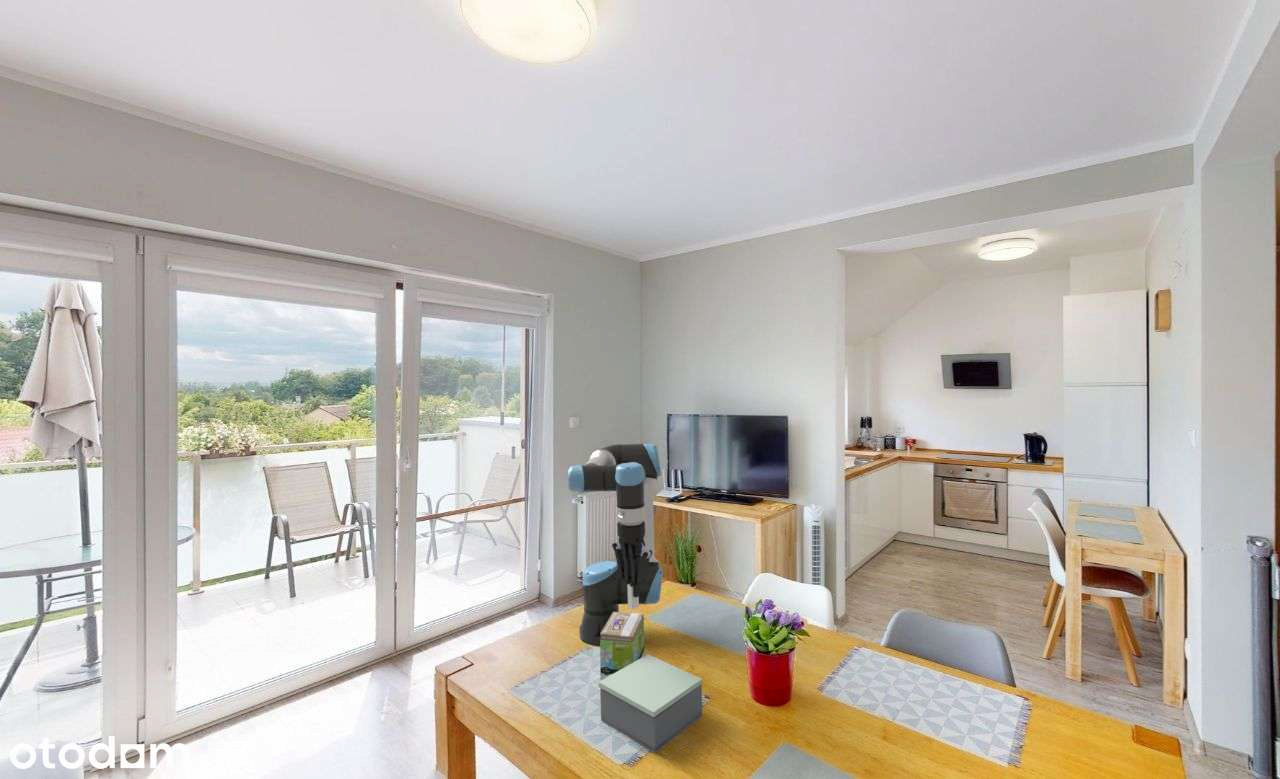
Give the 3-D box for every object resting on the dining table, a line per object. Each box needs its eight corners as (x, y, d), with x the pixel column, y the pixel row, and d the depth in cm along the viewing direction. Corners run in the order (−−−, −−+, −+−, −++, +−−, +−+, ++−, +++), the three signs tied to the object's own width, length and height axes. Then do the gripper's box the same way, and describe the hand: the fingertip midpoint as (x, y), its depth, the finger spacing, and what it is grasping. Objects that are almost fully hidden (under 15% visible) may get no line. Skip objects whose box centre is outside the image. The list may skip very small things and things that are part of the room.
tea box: (634, 689, 144) (633, 636, 144) (599, 686, 146) (598, 633, 146) (645, 660, 159) (644, 612, 159) (613, 658, 161) (611, 610, 161)
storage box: (649, 688, 145) (648, 659, 144) (702, 715, 132) (701, 684, 132) (601, 720, 131) (600, 688, 131) (655, 753, 119) (654, 718, 119)
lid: (647, 658, 145) (647, 654, 145) (702, 683, 132) (702, 678, 132) (598, 686, 131) (598, 682, 131) (653, 717, 119) (653, 712, 119)
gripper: (604, 520, 143) (606, 605, 144) (639, 529, 134) (642, 619, 135) (623, 514, 149) (625, 595, 150) (658, 522, 140) (660, 609, 141)
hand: (633, 607), depth 143 cm, fingers closed
